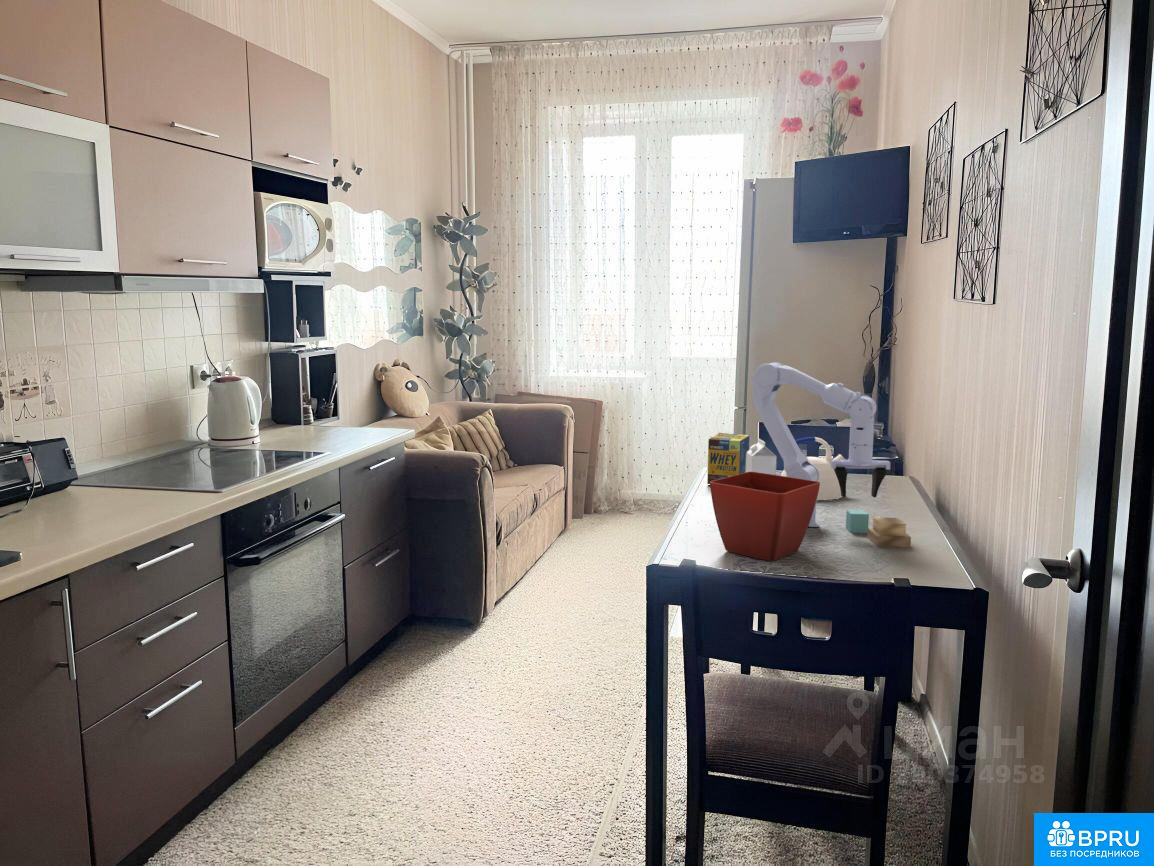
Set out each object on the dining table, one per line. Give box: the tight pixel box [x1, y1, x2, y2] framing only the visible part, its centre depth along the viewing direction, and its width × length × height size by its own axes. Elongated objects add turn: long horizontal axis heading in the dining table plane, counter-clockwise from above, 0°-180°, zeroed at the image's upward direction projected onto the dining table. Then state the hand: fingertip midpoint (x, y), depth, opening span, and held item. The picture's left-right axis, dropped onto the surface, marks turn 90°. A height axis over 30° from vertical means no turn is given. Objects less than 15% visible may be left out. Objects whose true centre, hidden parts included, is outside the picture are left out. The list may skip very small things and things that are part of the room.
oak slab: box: [872, 516, 907, 536], centre depth 208 cm, size 6×6×3 cm
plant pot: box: [709, 472, 820, 562], centre depth 199 cm, size 19×19×17 cm
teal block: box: [845, 509, 870, 534], centre depth 219 cm, size 4×4×5 cm
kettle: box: [780, 436, 846, 500], centre depth 263 cm, size 20×21×18 cm
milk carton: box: [746, 438, 778, 475], centre depth 248 cm, size 7×7×19 cm
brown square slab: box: [867, 527, 912, 548], centre depth 208 cm, size 8×8×3 cm
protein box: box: [706, 432, 750, 485], centre depth 280 cm, size 10×15×16 cm
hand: (858, 496), depth 218 cm, fingers open, 7 cm apart
